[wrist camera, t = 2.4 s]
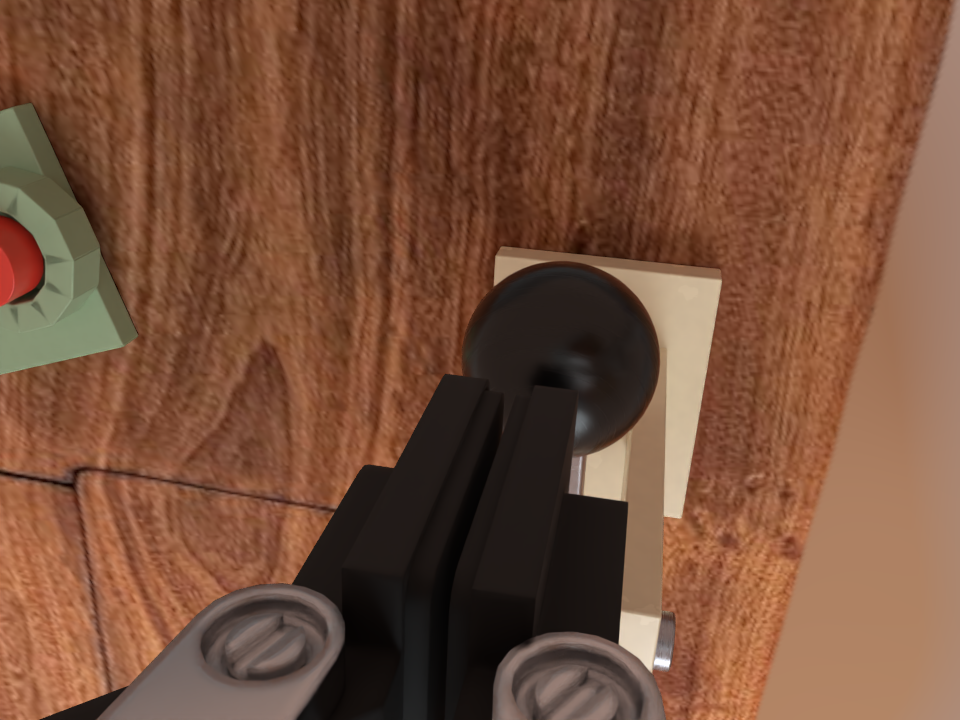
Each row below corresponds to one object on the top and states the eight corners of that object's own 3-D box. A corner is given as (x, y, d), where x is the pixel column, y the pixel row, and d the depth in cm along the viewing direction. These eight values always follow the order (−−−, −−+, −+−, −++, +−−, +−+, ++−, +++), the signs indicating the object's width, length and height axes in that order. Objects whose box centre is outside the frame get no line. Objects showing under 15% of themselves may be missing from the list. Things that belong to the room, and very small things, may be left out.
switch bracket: (500, 245, 33) (370, 462, 19) (721, 268, 32) (756, 519, 18) (487, 474, 37) (373, 790, 23) (681, 502, 36) (684, 856, 22)
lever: (478, 210, 15) (433, 357, 12) (677, 230, 14) (664, 386, 12) (498, 578, 24) (475, 693, 22) (616, 597, 24) (603, 716, 22)
